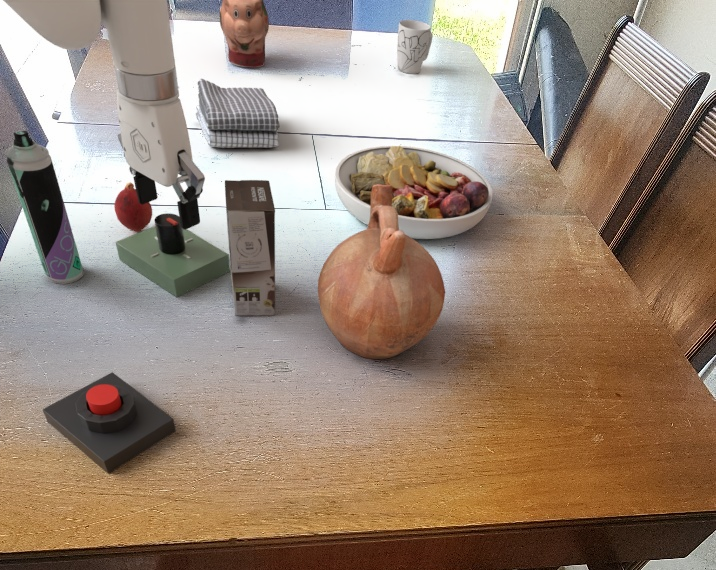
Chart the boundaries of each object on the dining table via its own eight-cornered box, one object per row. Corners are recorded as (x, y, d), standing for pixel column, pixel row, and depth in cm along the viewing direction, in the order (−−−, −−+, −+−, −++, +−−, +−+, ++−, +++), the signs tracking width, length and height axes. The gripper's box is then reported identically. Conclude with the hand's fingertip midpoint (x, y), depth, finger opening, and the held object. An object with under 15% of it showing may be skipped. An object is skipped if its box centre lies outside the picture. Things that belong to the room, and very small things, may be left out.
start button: (83, 405, 72) (79, 394, 71) (109, 391, 74) (105, 379, 72) (102, 420, 71) (98, 409, 69) (127, 405, 73) (124, 394, 71)
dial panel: (119, 259, 97) (114, 241, 95) (173, 236, 103) (170, 218, 100) (176, 297, 93) (173, 278, 90) (230, 271, 98) (228, 253, 96)
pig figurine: (220, 46, 163) (216, -21, 152) (266, 48, 165) (264, -18, 154) (224, 73, 151) (219, 2, 140) (273, 75, 153) (272, 6, 142)
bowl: (308, 218, 111) (309, 173, 105) (366, 158, 129) (370, 117, 123) (462, 264, 107) (473, 221, 100) (500, 196, 124) (512, 155, 118)
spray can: (69, 287, 91) (24, 145, 76) (38, 277, 92) (-13, 134, 76) (91, 270, 95) (52, 129, 79) (61, 260, 95) (16, 119, 80)
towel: (209, 153, 123) (205, 110, 117) (195, 117, 133) (191, 75, 127) (282, 151, 127) (282, 109, 121) (263, 115, 137) (262, 75, 131)
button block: (47, 422, 74) (37, 398, 71) (116, 384, 80) (109, 360, 77) (108, 474, 71) (100, 450, 67) (176, 431, 76) (171, 407, 73)
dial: (153, 247, 95) (148, 216, 91) (174, 238, 97) (169, 208, 93) (170, 257, 94) (165, 227, 90) (190, 248, 96) (186, 218, 92)
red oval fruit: (143, 244, 101) (134, 195, 94) (113, 235, 101) (101, 186, 95) (161, 228, 104) (153, 180, 98) (131, 220, 105) (122, 171, 99)
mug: (415, 61, 171) (422, 17, 163) (437, 71, 167) (445, 26, 160) (387, 67, 165) (392, 21, 158) (408, 77, 162) (415, 31, 154)
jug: (443, 377, 87) (478, 245, 71) (318, 374, 85) (326, 237, 69) (424, 302, 98) (451, 174, 83) (313, 297, 96) (319, 165, 80)
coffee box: (276, 316, 92) (275, 211, 79) (234, 316, 91) (226, 210, 78) (272, 282, 98) (270, 178, 85) (231, 282, 96) (223, 177, 84)
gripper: (81, 67, 79) (112, 199, 92) (168, 110, 73) (188, 245, 86) (129, 56, 82) (152, 185, 96) (215, 96, 77) (227, 227, 90)
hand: (169, 213), depth 91 cm, fingers open, 9 cm apart
